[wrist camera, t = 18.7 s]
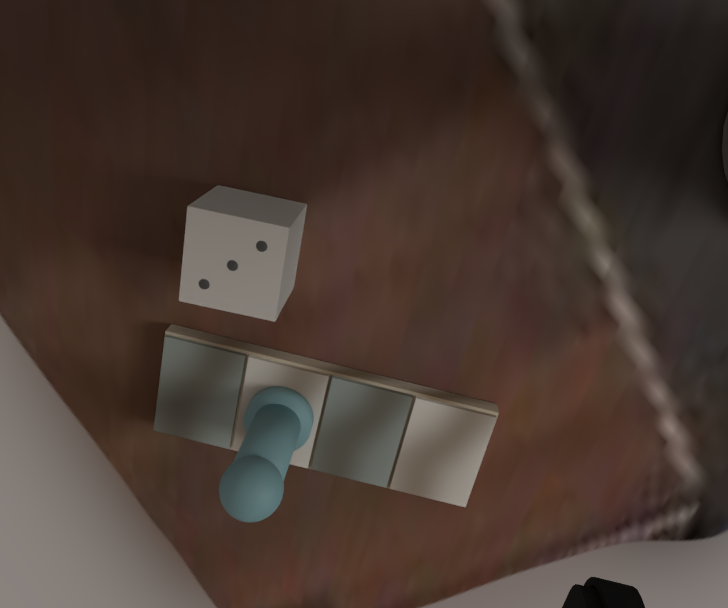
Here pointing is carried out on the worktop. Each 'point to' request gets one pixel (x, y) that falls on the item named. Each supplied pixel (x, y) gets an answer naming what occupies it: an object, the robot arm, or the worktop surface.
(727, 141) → the robot arm
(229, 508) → the pawn
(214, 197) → the die
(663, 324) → the worktop surface
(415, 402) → the board
